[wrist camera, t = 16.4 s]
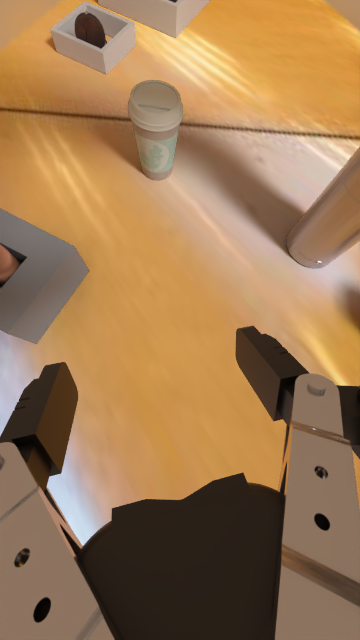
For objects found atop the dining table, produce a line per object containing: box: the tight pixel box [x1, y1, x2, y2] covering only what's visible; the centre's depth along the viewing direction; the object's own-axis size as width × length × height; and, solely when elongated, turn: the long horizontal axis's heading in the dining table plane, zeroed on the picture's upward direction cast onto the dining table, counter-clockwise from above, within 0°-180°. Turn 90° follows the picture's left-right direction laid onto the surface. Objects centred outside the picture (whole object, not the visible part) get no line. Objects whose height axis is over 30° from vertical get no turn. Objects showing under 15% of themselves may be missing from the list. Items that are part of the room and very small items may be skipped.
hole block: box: [0, 208, 89, 344], centre depth 35 cm, size 14×14×7 cm
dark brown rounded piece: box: [74, 10, 107, 49], centre depth 51 cm, size 8×8×7 cm
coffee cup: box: [128, 80, 183, 180], centre depth 41 cm, size 9×9×12 cm
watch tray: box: [50, 1, 136, 74], centre depth 53 cm, size 13×13×4 cm
